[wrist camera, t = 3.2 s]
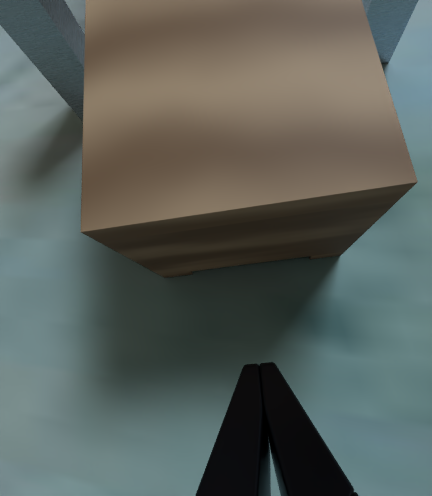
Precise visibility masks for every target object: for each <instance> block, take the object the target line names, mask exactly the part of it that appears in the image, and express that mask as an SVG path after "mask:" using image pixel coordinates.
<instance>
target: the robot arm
mask: <svg viewBox="0 0 432 496" xmlns="http://www.w3.org/2000/svg"><path fill="white" fill-rule="evenodd" d="M269 443H270V447H269ZM270 450H271V455H272V459H273V464H274V468H275V472H276V477H277V481H278V485H279V490H280V494H281V496H358V494H357V493H356V492H354V488H353V486H352V485H351V483H350V482H349V480H348V479H347V477H346V475H345V474H344V472H343V471H342V469H341V467H340V466H339V464H338V463H337V461H336V460H335V458H334V456H333V455H332V453H331V452H330V450H329V448H328V447H327V445H326V444H325V442H324V441H323V439H322V437H321V436H320V434H319V433H318V431H317V429H316V428H315V426H314V425H313V423H312V421H311V420H310V418H309V417H308V415H307V414H306V412H305V410H304V409H303V407H302V406H301V404H300V402H299V401H298V399H297V398H296V396H295V395H294V393H293V391H292V390H291V388H290V387H289V385H288V383H287V382H286V380H285V379H284V377H283V375H282V374H281V372H280V371H279V369H278V368H277V366H276V365H275V363H273V362H269V363H261V364H260V365H258V364H247V365H244V367H243V369H242V371H241V374H240V377H239V379H238V382H237V385H236V388H235V390H234V393H233V396H232V398H231V401H230V404H229V406H228V409H227V412H226V415H225V417H224V420H223V423H222V425H221V428H220V431H219V433H218V436H217V439H216V442H215V444H214V447H213V450H212V452H211V455H210V458H209V460H208V463H207V466H206V468H205V471H204V474H203V477H202V479H201V482H200V485H199V487H198V490H197V493H196V496H271V487H270Z"/></svg>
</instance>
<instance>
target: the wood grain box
mask: <svg viewBox="0 0 432 496" xmlns="http://www.w3.org/2000/svg"><path fill="white" fill-rule="evenodd" d="M416 183H417V178H416V175H415V172H414V169H413V165H412V162H411V159H410V156H409V152H408V149H407V146H406V143H405V139H404V136H403V133H402V130H401V127H400V123H399V120H398V117H397V114H396V110H395V107H394V104H393V101H392V97H391V94H390V91H389V88H388V84H387V81H386V78H385V75H384V71H383V68H382V65H381V62H380V58H379V55H378V52H377V49H376V45H375V42H374V39H373V36H372V33H371V29H370V26H369V23H368V20H367V16H366V13H365V10H364V7H363V3H362V0H86V13H85V59H84V106H83V152H82V199H81V232H82V233H84V234H85V235H87V236H89V237H91V238H93V239H95V240H96V241H98V242H100V243H102V244H104V245H105V246H107V247H109V248H111V249H113V250H115V251H116V252H118V253H120V254H122V255H124V256H126V257H127V258H129V259H131V260H133V261H135V262H137V263H138V264H140V265H142V266H144V267H146V268H148V269H149V270H151V271H153V272H155V273H157V274H158V275H160V276H162V277H164V278H168V277H175V276H183V275H191V274H192V271H199V270H206V269H214V268H222V267H230V266H238V265H245V264H253V263H261V262H269V261H277V260H285V259H292V258H300V257H308V256H309V259H317V258H325V257H333V256H341V255H342V254H343V253H344V252H345V251H346V250H347V249H348V248H349V247H350V246H351V245H352V244H353V243H354V242H355V241H356V240H357V239H358V238H359V237H361V236H362V235H363V234H364V233H365V232H366V231H367V230H368V229H369V228H370V227H371V226H372V225H373V224H374V223H375V222H376V221H377V220H378V219H379V218H380V217H381V216H383V215H384V214H385V213H386V212H387V211H388V210H389V209H390V208H391V207H392V206H393V205H394V204H395V203H396V202H397V201H398V200H399V199H400V198H401V197H402V196H404V195H405V194H406V193H407V192H408V191H409V190H410V189H411V188H412V187H413V186H414V185H415V184H416Z"/></svg>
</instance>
